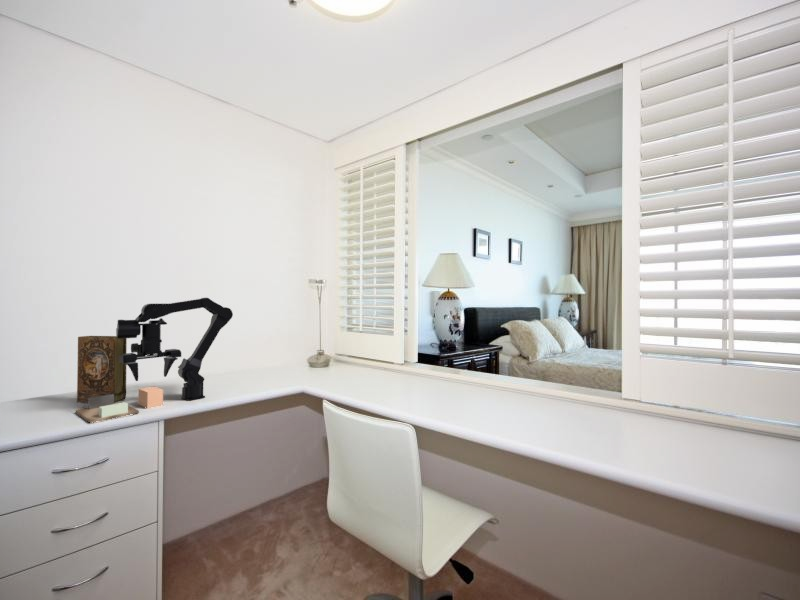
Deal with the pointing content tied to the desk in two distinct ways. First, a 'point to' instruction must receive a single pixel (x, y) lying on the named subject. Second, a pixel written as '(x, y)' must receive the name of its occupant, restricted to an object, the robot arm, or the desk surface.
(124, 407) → the pale green rectangular block
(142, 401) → the peach rectangular block
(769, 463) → the desk surface
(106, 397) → the bookend
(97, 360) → the book
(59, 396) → the desk surface
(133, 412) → the shelf board
